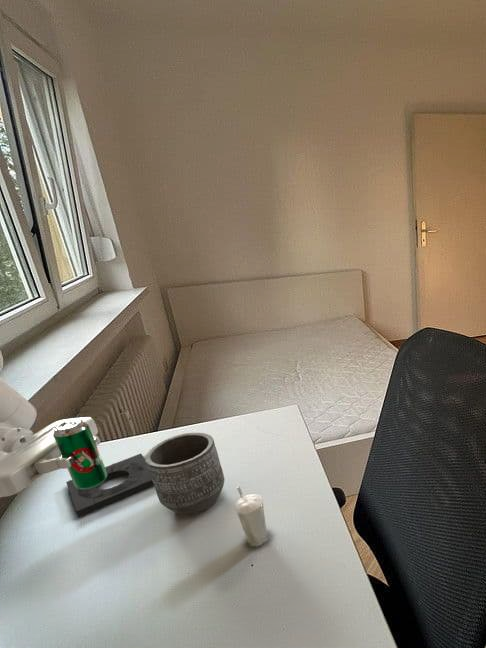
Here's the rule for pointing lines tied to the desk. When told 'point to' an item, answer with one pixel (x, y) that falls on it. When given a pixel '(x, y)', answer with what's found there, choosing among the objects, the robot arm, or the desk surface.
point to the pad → (100, 498)
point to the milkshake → (252, 518)
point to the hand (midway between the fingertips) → (84, 451)
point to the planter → (186, 473)
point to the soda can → (80, 453)
